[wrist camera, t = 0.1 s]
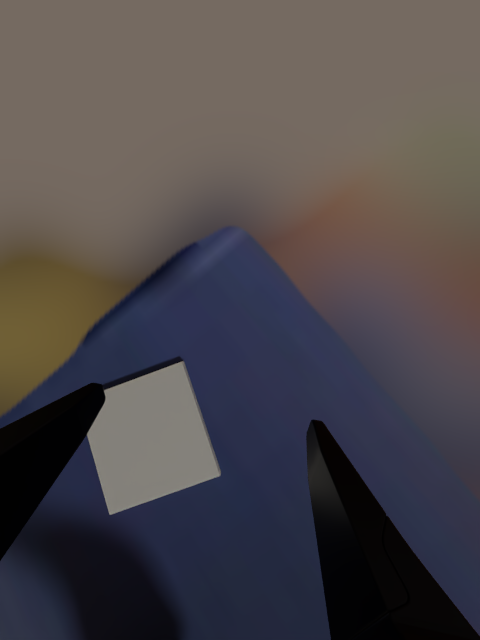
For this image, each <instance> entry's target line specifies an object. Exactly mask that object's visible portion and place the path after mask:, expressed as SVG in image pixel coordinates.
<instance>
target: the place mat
mask: <svg viewBox="0 0 480 640" xmlns="http://www.w3.org/2000/svg"><path fill="white" fill-rule="evenodd" d="M104 393H105V397H106V399H105V403H104V405H103V407H102V408H101V410H100V412H99V414H98V415H97V417H96V419H95V421H94V423H93V424H92V426H91V428H90V430H89V432H88V433H87V436H88V439H89V443H90V447H91V450H92V454H93V457H94V461H95V465H96V468H97V472H98V475H99V479H100V482H101V486H102V490H103V493H104V497H105V500H106V504H107V507H108V511H109V515H111V514H114V513H117V512H120V511H122V510H125V509H128V508H131V507H134V506H136V505H139V504H142V503H145V502H148V501H151V500H153V499H156V498H159V497H162V496H165V495H168V494H170V493H173V492H176V491H179V490H182V489H184V488H187V487H190V486H193V485H196V484H199V483H201V482H204V481H207V480H210V479H213V478H215V477H218V476H220V475H221V471H220V468H219V465H218V462H217V459H216V456H215V453H214V450H213V447H212V444H211V441H210V438H209V435H208V432H207V429H206V426H205V423H204V420H203V417H202V414H201V411H200V408H199V405H198V402H197V399H196V396H195V393H194V390H193V387H192V384H191V381H190V378H189V375H188V372H187V369H186V366H185V363H184V361H182V362H179V363H176V364H174V365H171V366H168V367H166V368H163V369H160V370H158V371H155V372H152V373H150V374H147V375H144V376H141V377H139V378H136V379H133V380H131V381H128V382H125V383H123V384H120V385H117V386H114V387H112V388H109V389H106V390H104Z"/></svg>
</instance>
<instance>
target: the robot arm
mask: <svg viewBox="0 0 480 640" xmlns="http://www.w3.org/2000/svg"><path fill="white" fill-rule="evenodd" d="M105 399H106V397H105V393H104V389H103V386H102V385H101V384H98V383H90V384H88V385H86V386H84V387H82V388H80V389H78V390H76V391H74V392H72V393H70V394H68V395H66V396H64V397H62V398H60V399H58V400H56V401H54V402H52V403H50V404H48V405H46V406H44V407H42V408H40V409H38V410H36V411H34V412H32V413H30V414H28V415H26V416H24V417H23V418H21V419H19V420H17V421H15V422H13V423H11V424H9V425H7V426H5V427H3V428H1V429H0V560H1V559H2V558H3V556H4V555H5V553H6V552H7V550H8V549H9V547H10V546H11V544H12V543H13V542H14V540H15V539H16V537H17V536H18V534H19V533H20V531H21V530H22V528H23V527H24V526H25V524H26V523H27V521H28V520H29V518H30V517H31V515H32V514H33V512H34V511H35V510H36V508H37V507H38V505H39V504H40V502H41V501H42V499H43V498H44V496H45V495H46V494H47V492H48V491H49V489H50V488H51V486H52V485H53V483H54V482H55V480H56V479H57V478H58V476H59V475H60V473H61V472H62V470H63V469H64V467H65V466H66V464H67V463H68V462H69V460H70V459H71V457H72V456H73V454H74V453H75V451H76V450H77V448H78V447H79V446H80V444H81V443H82V441H83V440H84V438H85V437H86V435H87V433H88V432H89V430H90V428H91V426H92V424H93V423H94V421H95V419H96V417H97V415H98V414H99V412H100V410H101V408H102V407H103V405H104V403H105ZM306 440H307V466H308V482H309V489H310V496H311V503H312V510H313V517H314V524H315V531H316V538H317V545H318V552H319V559H320V566H321V573H322V580H323V587H324V594H325V601H326V607H327V614H328V621H329V628H330V635H331V640H480V636H479V635H478V634H477V632H476V631H475V630H474V629H473V627H472V626H471V625H470V624H469V622H468V621H467V620H466V618H465V617H464V616H463V615H462V613H461V612H460V611H459V610H458V608H457V607H456V606H455V605H454V603H453V602H452V601H451V600H450V598H449V597H448V596H447V594H446V593H445V592H444V591H443V589H442V588H441V587H440V586H439V584H438V583H437V582H436V581H435V579H434V578H433V577H432V575H431V574H430V573H429V572H428V570H427V569H426V568H425V566H424V565H423V564H422V563H421V561H420V560H419V559H418V557H417V556H416V555H415V553H414V552H413V551H412V549H411V548H410V547H409V545H408V544H407V542H406V541H405V540H404V538H403V537H402V536H401V534H400V533H399V531H398V530H397V529H396V527H395V526H394V524H393V523H392V521H391V520H390V518H389V517H388V516H386V513H385V511H384V510H383V508H382V507H381V505H380V504H379V503H378V501H377V500H376V498H375V497H374V495H373V494H372V492H371V491H370V490H369V488H368V487H367V485H366V484H365V482H364V481H363V479H362V478H361V477H360V475H359V474H358V472H357V471H356V469H355V468H354V466H353V465H352V463H351V462H350V461H349V459H348V458H347V456H346V455H345V453H344V452H343V450H342V449H341V448H340V446H339V445H338V443H337V442H336V440H335V439H334V437H333V436H332V435H331V433H330V432H329V430H328V429H327V427H326V426H325V424H324V423H323V422H322V421H319V420H311V422H310V425H309V428H308V431H307V436H306Z"/></svg>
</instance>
